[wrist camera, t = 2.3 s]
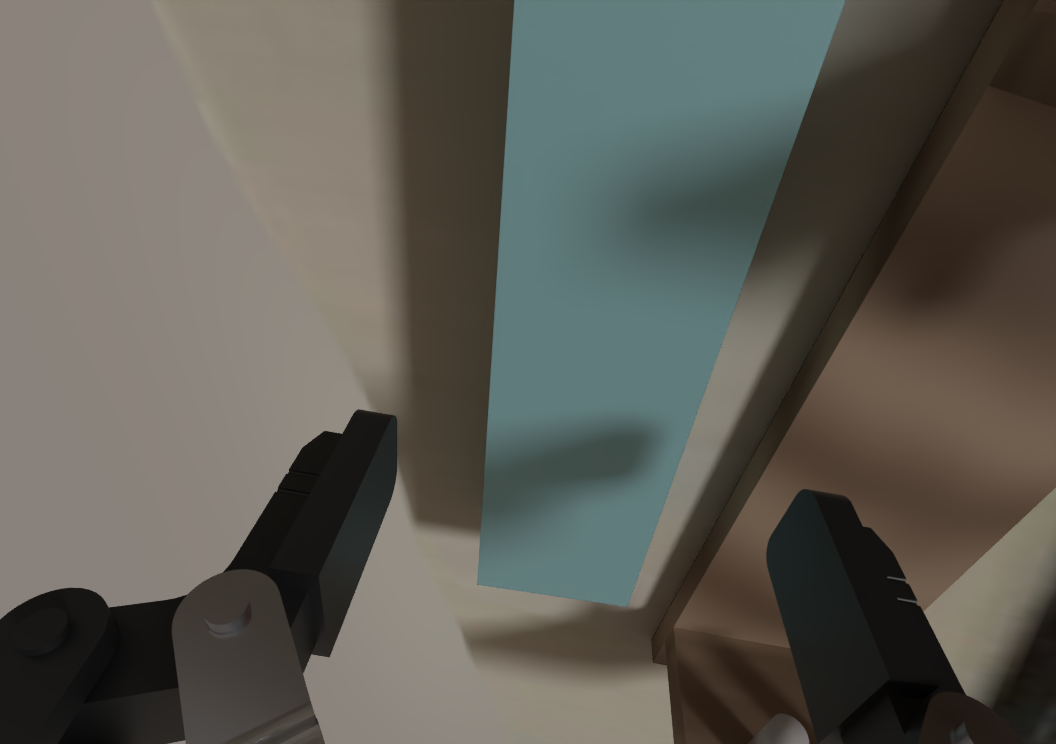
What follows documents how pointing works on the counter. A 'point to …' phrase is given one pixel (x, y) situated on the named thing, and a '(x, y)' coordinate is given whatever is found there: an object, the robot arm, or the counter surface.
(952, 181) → the rack
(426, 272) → the counter surface
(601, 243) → the teal rectangular block
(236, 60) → the counter surface
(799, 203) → the counter surface
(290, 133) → the counter surface
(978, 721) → the robot arm
